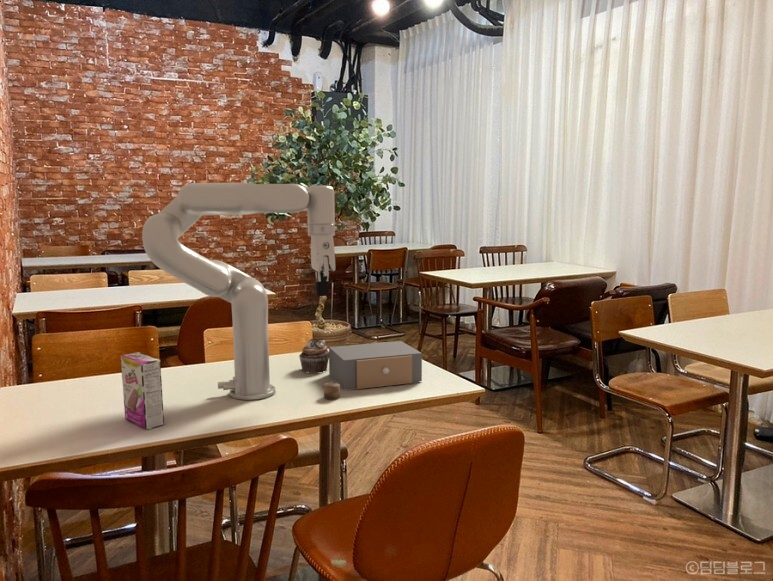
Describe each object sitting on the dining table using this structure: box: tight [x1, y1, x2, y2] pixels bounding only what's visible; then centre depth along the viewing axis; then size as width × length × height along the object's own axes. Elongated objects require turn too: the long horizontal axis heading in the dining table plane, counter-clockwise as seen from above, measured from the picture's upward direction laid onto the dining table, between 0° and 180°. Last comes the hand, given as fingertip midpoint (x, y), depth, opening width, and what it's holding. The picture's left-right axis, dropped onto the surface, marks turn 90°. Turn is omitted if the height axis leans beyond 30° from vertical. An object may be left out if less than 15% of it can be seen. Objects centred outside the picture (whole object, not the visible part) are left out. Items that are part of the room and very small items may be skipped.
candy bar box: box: [120, 351, 165, 430], centre depth 146 cm, size 11×5×16 cm, turn 48°
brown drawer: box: [356, 355, 413, 390], centre depth 183 cm, size 18×17×8 cm
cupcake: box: [298, 337, 329, 374], centre depth 193 cm, size 10×10×10 cm
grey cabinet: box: [328, 340, 423, 391], centre depth 184 cm, size 17×24×9 cm
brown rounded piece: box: [323, 382, 341, 401], centre depth 166 cm, size 4×4×4 cm
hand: (322, 295), depth 171 cm, fingers closed
